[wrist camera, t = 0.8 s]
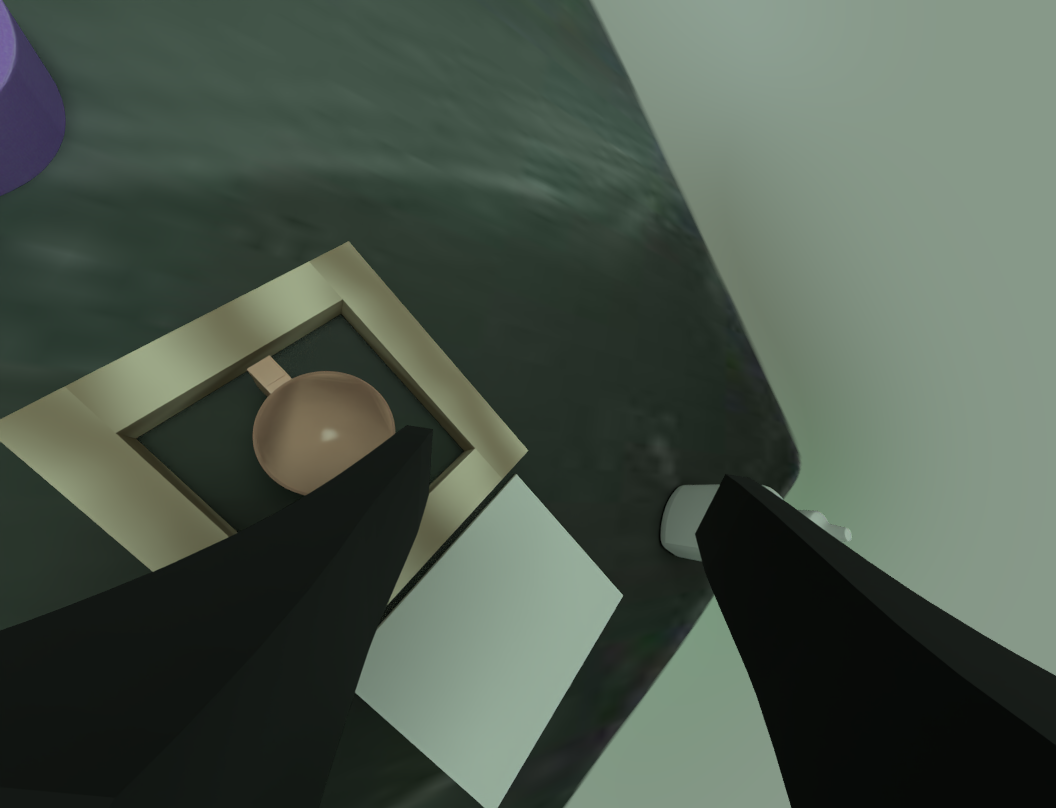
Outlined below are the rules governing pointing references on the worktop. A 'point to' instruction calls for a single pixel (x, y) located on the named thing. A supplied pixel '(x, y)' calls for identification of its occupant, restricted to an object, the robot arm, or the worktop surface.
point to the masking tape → (25, 108)
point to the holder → (217, 358)
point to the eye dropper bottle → (690, 509)
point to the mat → (489, 642)
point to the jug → (315, 424)
